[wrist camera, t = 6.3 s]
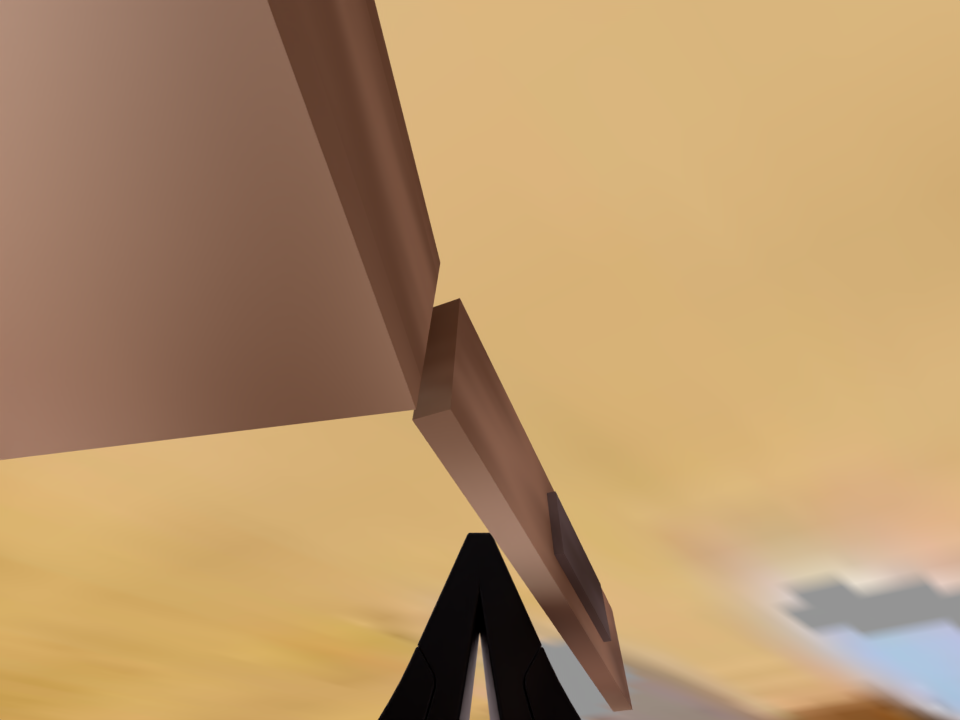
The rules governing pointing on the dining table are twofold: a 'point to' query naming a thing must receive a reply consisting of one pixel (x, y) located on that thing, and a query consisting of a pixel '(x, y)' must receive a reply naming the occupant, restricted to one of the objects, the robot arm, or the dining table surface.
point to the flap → (514, 493)
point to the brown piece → (203, 221)
